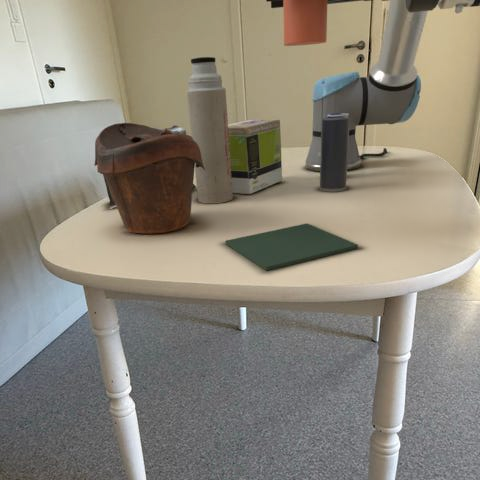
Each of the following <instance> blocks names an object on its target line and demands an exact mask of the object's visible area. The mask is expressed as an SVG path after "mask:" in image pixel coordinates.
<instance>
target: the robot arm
mask: <svg viewBox="0 0 480 480" xmlns="http://www.w3.org/2000/svg"><path fill="white" fill-rule="evenodd" d="M362 1H363V2H370V1H373V0H328V1H327V5H332V4H334V5H335V4H342V3H352V2H362ZM381 1H382V2H388V0H381ZM265 2H270V8H271V9H279V8H283V0H265ZM468 7H471V8H472V7H480V0H389V4H388V8H387V9H388V10H387V14H386V20H385V25H384V30H383V36H382V40H381V45H380V50H379V55H378V59H377V61H376V62H375V63H373V64H372V66H371V67H370V70H369V74H368V76H361V77H360V75H361V74H360V73H359V71H352V72H346V73H341V74H336V75H331V76H328V77H323V78H320V79H318V80H316V81H315V83H314V85H313V93H312V94H313V95H312V99H311V101H312V139H311V143H310V146H309V149H308V152H307V156H306V159H305V169H306V170H308V171H312V172H320V162H321V123H322V119H324V118H328V116H327V115H329V114H336V113H341V114H349V115H348V117H349V118H350V123H349V142H348V161H347V171H352V170H356V169H358V168H360V167H361V160H364V159H365V158H368V157H369V158H371V157H372V158H379V157H383V156H385V155H386V154H388V150H387V147H384V148H383V150H382V152H380V153H361V154H360V152H359V148H358V145H357V144H358V143H357V140H356V130H357V127H359V126H370V125H371V126H372V125H386V124H387V125H395V124H399V123H400V124H401V123H405V122H407V121H408V120H410V119H411V118H412V117H413V115H414V113H415V112H416V109H417V107H418V105H419V102H420V97H421V96H420V93H421V90H422V81H421V78H420V76H419V75H418V70H417V68H416V66H415V60H416V56H417V53H418V49H419V46H420V42H421V38H422V35H423V31H424V27H425V22H426V21H427V20H426V19H427V17H428V13H429V12H431V11H434V9H436V8H439V9H440V10H448V9H449V10H450V9H453V8H454V12H455V14H461V13H462V12H463V9H464V8H468Z"/></svg>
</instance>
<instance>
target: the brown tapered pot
mask: <svg viewBox="0 0 480 480" xmlns="http://www.w3.org/2000/svg"><path fill="white" fill-rule="evenodd" d="M164 129H165V131H163V129H160V128H155V127H151V126H148V125H144V124H139V123H133V122H118V123H114V124H111V125H108V126H106V127H104V129H102V130H101V131H100V132H99V134H98V136H97V137H96V138H95V141H94V164H93V165H94V167H96V166H97V168H96V169H97V173H99V174H101V175H103V174H104V176H105V179H106V181H107V184H108V186H109V189H110V192H111V194H112V196H113V199H114V201H115V204H116V206H117V208H116V209H117V211H118V213H119V217H120V218H121V221H122V224H123V226H124V228H125V230H127V231H128V232H129V233H132V234H141V235H142V234H143V235H145V234H146V235H147V234H149V235H150V234H165V233H170V232H175V231H178V230H181V229H182V228H184V227H186V226H188V224H189V223H190V222H191V218H192V202H193V190H194V189H193V184H194V178H195V163H196V167H197V168H198V167H202V168H203V169H204V170H205V168H204V166H203V162H202V158H201V152H200V148H199V146H198V144H197V143H196V142H195V141H194V140H193V138H192V136H191V135H189V134H186V135H185V134H173V133H171V132H172V131H171V130H168V129H167V128H166V127H165V128H164ZM205 171H206V170H205Z"/></svg>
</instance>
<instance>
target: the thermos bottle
mask: <svg viewBox="0 0 480 480" xmlns="http://www.w3.org/2000/svg"><path fill="white" fill-rule="evenodd" d="M190 64H192V66H191V70H192V74H191V76H189V78H188V86H189V89H188V90H186V98H187V107H188V108H187V109H188V117H189V125H190V136H191V137H192V138H193V140H194V141H195V142H196V143H197V144H198V146H199V148H200V152H201V158H202V162H203V166H204V168H205V170H206V171H205V170H204V169H203V168H202V167H198V168H197V167H196V163H195V168H194V175H195V183H196V192H197V201H198V202H199V203H203V204H220V203H225V202H229V201H231V200H233V199H234V193H233V191H232V177H231V162H230V147H229V133H228V124H229V120H228V119H229V118H228V105H227V103H228V102H227V89H226V87H223V79H222V76H221V74H219V73H218V72H217V65H216V57H211V56H202V57H194V58H191V59H190Z"/></svg>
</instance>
